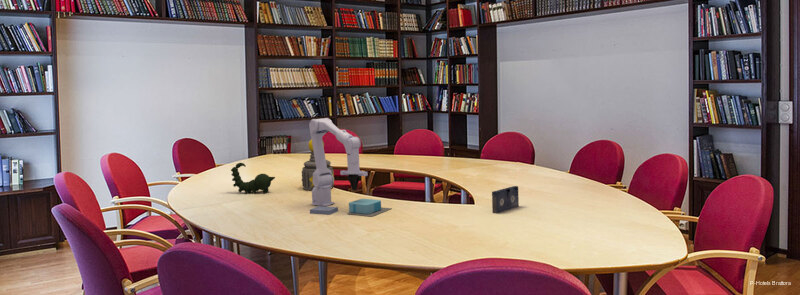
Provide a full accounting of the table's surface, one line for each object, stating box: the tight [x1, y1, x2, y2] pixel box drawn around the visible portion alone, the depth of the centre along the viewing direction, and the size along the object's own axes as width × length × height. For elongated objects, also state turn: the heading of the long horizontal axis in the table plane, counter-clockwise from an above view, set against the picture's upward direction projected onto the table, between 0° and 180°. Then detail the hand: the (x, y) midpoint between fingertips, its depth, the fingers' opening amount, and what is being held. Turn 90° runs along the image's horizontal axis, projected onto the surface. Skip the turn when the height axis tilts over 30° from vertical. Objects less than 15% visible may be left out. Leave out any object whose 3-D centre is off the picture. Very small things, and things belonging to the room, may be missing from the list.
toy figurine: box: [230, 162, 276, 195], centre depth 360 cm, size 9×19×25 cm
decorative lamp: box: [301, 139, 335, 192], centre depth 367 cm, size 19×19×30 cm
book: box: [309, 205, 339, 216], centre depth 302 cm, size 11×8×2 cm
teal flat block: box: [348, 198, 382, 214], centre depth 300 cm, size 12×4×12 cm
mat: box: [347, 206, 392, 218], centre depth 300 cm, size 14×18×1 cm
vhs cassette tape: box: [491, 185, 520, 214], centre depth 293 cm, size 18×3×10 cm, turn 135°
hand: (354, 190), depth 303 cm, fingers closed
